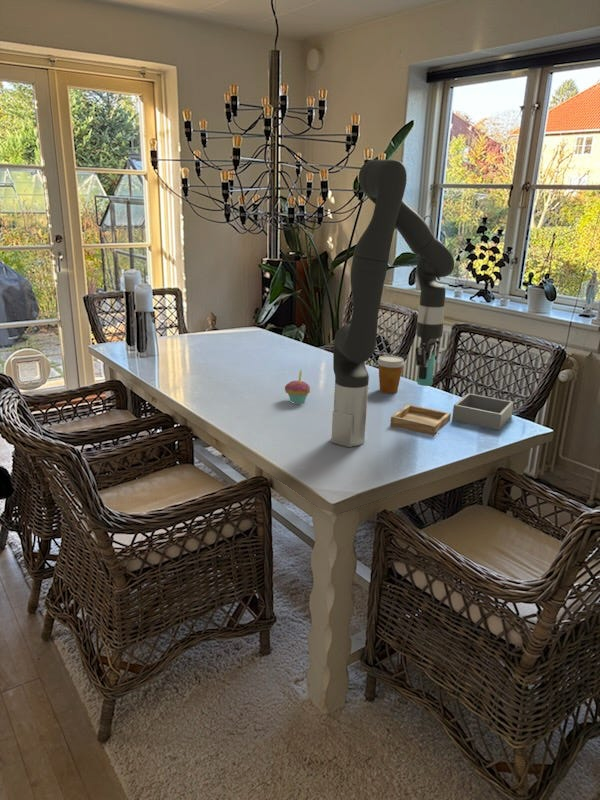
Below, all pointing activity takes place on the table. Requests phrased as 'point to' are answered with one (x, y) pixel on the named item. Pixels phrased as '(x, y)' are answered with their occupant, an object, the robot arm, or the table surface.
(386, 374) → the disposable coffee cup
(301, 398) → the cupcake
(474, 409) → the deep bin
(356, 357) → the robot arm
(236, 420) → the table surface
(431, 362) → the peg
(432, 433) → the tray
